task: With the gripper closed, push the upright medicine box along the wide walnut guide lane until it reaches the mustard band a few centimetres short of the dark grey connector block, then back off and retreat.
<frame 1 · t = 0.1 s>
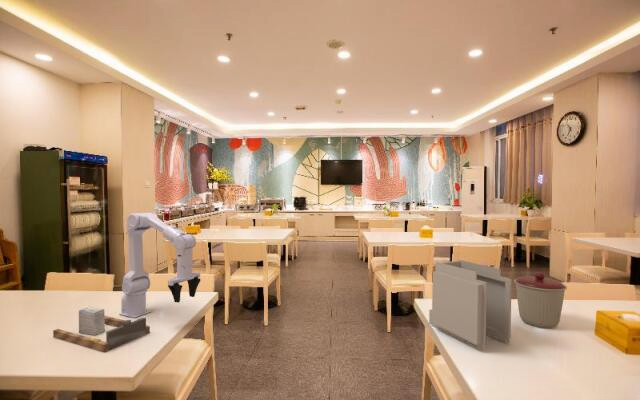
hand: (184, 299, 132), 10 cm above the table, fingers open, 7 cm apart
comb track: (102, 334, 122), on the table
grey napkin holder: (467, 335, 124), on the table
medicine box: (91, 332, 124), on the table
canister: (538, 323, 137), on the table
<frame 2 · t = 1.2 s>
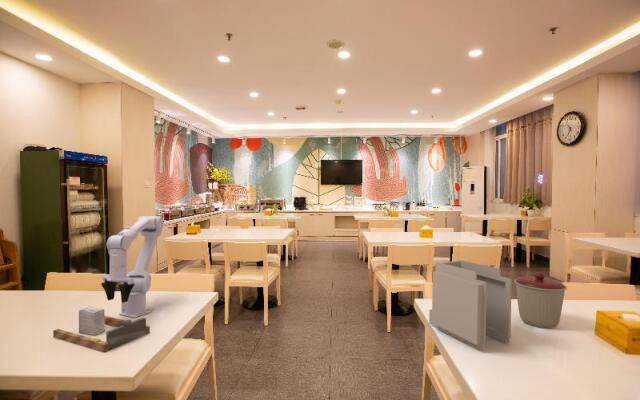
hand: (117, 300, 130), 10 cm above the table, fingers open, 7 cm apart
nothing on the table moved.
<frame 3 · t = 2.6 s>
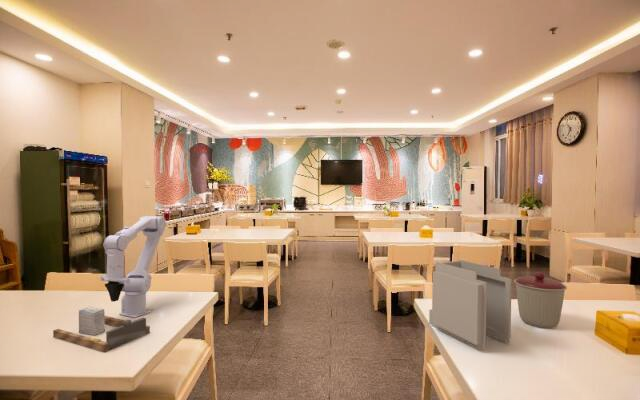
hand: (114, 300, 130), 10 cm above the table, fingers closed
nothing on the table moved.
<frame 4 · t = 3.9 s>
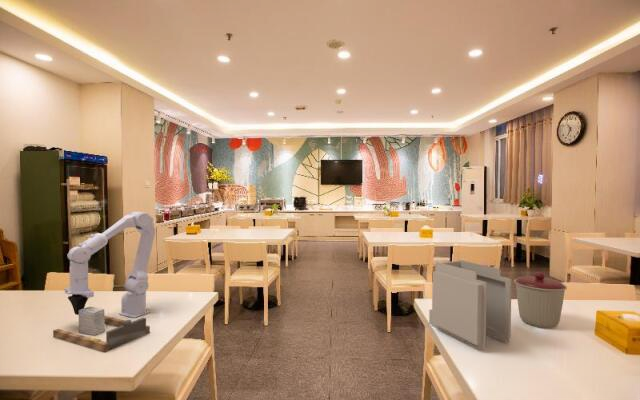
hand: (78, 313, 127), 6 cm above the table, fingers closed
nothing on the table moved.
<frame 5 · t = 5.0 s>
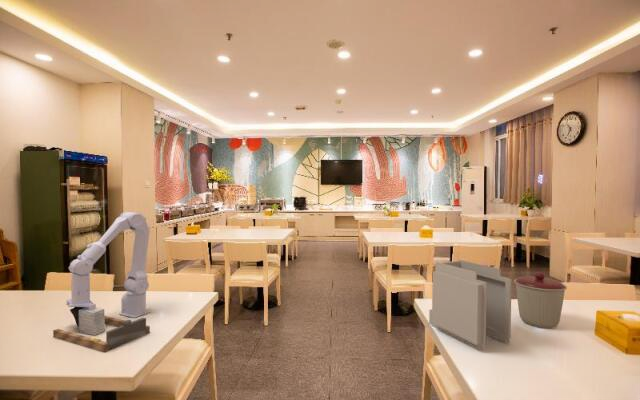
hand: (80, 326, 127), 1 cm above the table, fingers closed
medicine box: (91, 332, 124), on the table, touching gripper
everything else where it was.
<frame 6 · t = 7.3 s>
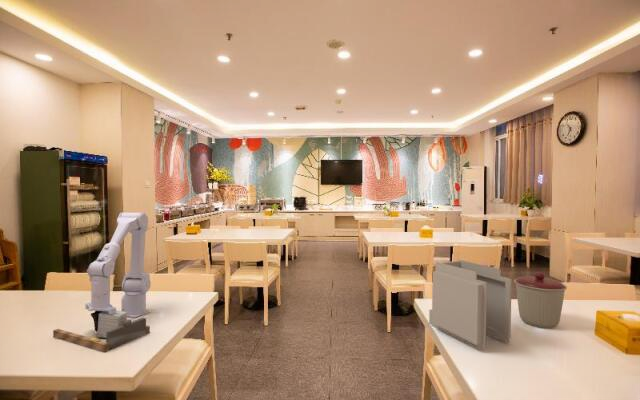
hand: (100, 330, 122), 2 cm above the table, fingers closed, pressing on medicine box
medicine box: (111, 336, 120), on the table, touching gripper
everything else where it was.
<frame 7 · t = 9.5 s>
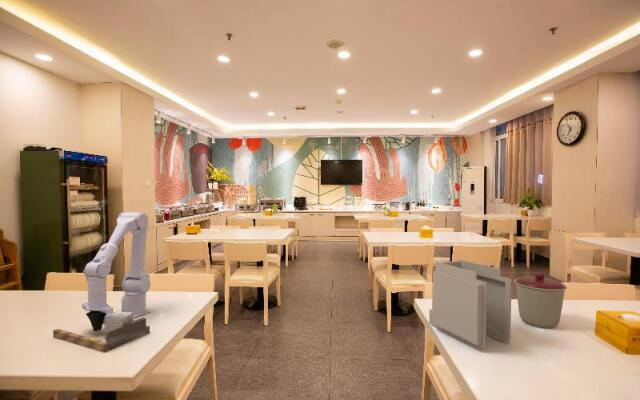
hand: (97, 330, 123), 1 cm above the table, fingers closed
medicine box: (119, 338, 120), on the table
everything else where it was.
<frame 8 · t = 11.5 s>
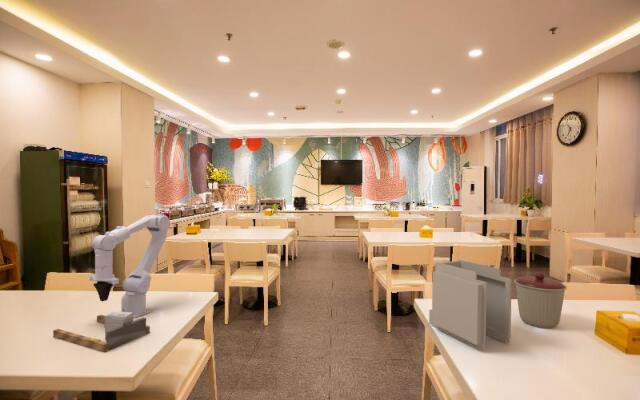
hand: (104, 300, 130), 10 cm above the table, fingers closed
nothing on the table moved.
at the end: medicine box inside the target area (1.1 cm from its centre), on the table; medicine box tilted 0°; medicine box moved 13.8 cm from its start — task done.
